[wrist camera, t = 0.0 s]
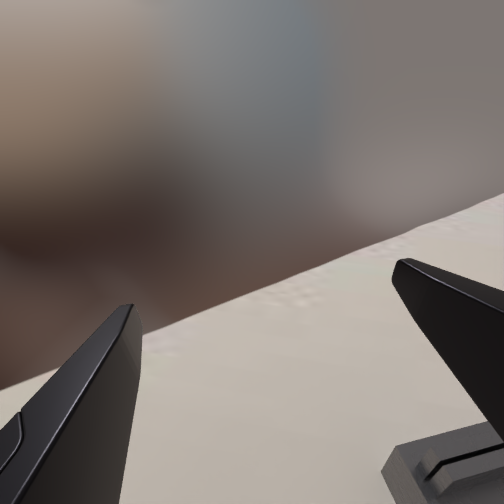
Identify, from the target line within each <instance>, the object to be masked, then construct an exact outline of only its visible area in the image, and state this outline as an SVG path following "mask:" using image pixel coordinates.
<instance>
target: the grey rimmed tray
mask: <svg viewBox="0 0 504 504" xmlns="http://www.w3.org/2000/svg"><path fill="white" fill-rule="evenodd" d="M381 473H382V475H383V477H384V479H385V481H386V483H387V485H388V487H389V490H390V492H391V494H392V496H393V498H394V500H395V502H396V504H504V442H503V441H502V439H501V438H500V437H499V435H498V434H497V432H496V431H495V430H494V428H493V427H492V426H491V424H490V423H489V422H488V421H487V422H483V423H479V424H476V425H472V426H468V427H464V428H461V429H457V430H453V431H449V432H446V433H442V434H438V435H435V436H431V437H427V438H423V439H420V440H416V441H412V442H408V443H405V444H401V445H397V446H395V448H394V450H393V451H392V453H391V455H390V457H389V458H388V460H387V462H386V463H385V465H384V467H383V469H382V470H381Z"/></svg>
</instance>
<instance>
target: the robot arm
mask: <svg viewBox="0 0 504 504" xmlns="http://www.w3.org/2000/svg"><path fill="white" fill-rule="evenodd" d="M392 284H393V286H394V287H395V289H396V291H397V292H398V294H399V296H400V297H401V299H402V301H403V302H404V304H405V306H406V308H407V309H408V311H409V313H410V314H411V316H412V317H413V319H414V321H415V322H416V323H417V325H418V326H419V328H420V329H421V330H422V332H423V333H424V334H425V336H426V337H427V339H428V340H429V341H430V343H431V344H432V345H433V347H434V348H435V349H436V351H437V352H438V353H439V355H440V356H441V358H442V359H443V360H444V362H445V363H446V364H447V366H448V367H449V368H450V370H451V371H452V373H453V374H454V375H455V377H456V378H457V379H458V381H459V382H460V383H461V385H462V386H463V388H464V389H465V390H466V392H467V393H468V394H469V396H470V397H471V398H472V400H473V401H474V403H475V404H476V405H477V407H478V408H479V409H480V411H481V412H482V413H483V415H484V416H485V417H486V419H487V420H488V422H489V423H490V424H491V426H492V427H493V428H494V430H495V431H496V432H497V434H498V435H499V437H500V438H501V439H502V441H503V442H504V291H502V290H499V289H496V288H493V287H490V286H488V285H485V284H482V283H479V282H476V281H474V280H471V279H468V278H465V277H462V276H459V275H457V274H454V273H451V272H448V271H445V270H443V269H440V268H437V267H434V266H431V265H428V264H426V263H423V262H420V261H417V260H414V259H411V258H406V259H400V260H398V261H397V262H396V265H395V268H394V272H393V275H392ZM142 332H143V326H142V321H141V319H140V316H139V313H138V311H137V308H136V306H135V305H134V304H126V305H121V306H119V307H118V308H117V309H116V310H115V311H114V312H113V313H112V314H111V315H110V316H109V317H108V318H107V319H106V320H105V321H104V323H102V325H101V326H100V327H99V328H98V329H97V330H96V331H95V332H94V333H93V334H92V335H91V336H90V337H89V338H88V339H87V340H86V341H85V342H84V343H83V344H82V345H81V346H80V348H79V349H78V350H77V351H76V352H75V353H74V354H73V355H72V356H71V357H70V358H69V359H68V360H67V361H66V362H65V363H64V364H63V365H62V366H61V367H60V368H59V370H58V371H57V372H56V373H55V374H54V375H53V376H52V377H51V378H50V379H49V380H48V381H47V382H46V383H45V384H44V385H43V386H42V387H41V388H40V389H39V390H38V392H37V393H36V394H35V395H34V396H33V397H32V398H31V399H30V400H29V401H28V402H27V403H26V404H25V405H24V406H23V407H22V408H21V412H17V413H16V414H15V415H14V417H13V418H12V419H11V420H10V421H9V422H8V423H7V424H6V425H5V426H4V427H3V428H2V429H1V430H0V504H119V499H120V493H121V487H122V481H123V476H124V470H125V464H126V458H127V452H128V446H129V440H130V434H131V428H132V422H133V416H134V410H135V404H136V398H137V393H138V387H139V380H140V372H141V353H142Z"/></svg>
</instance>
